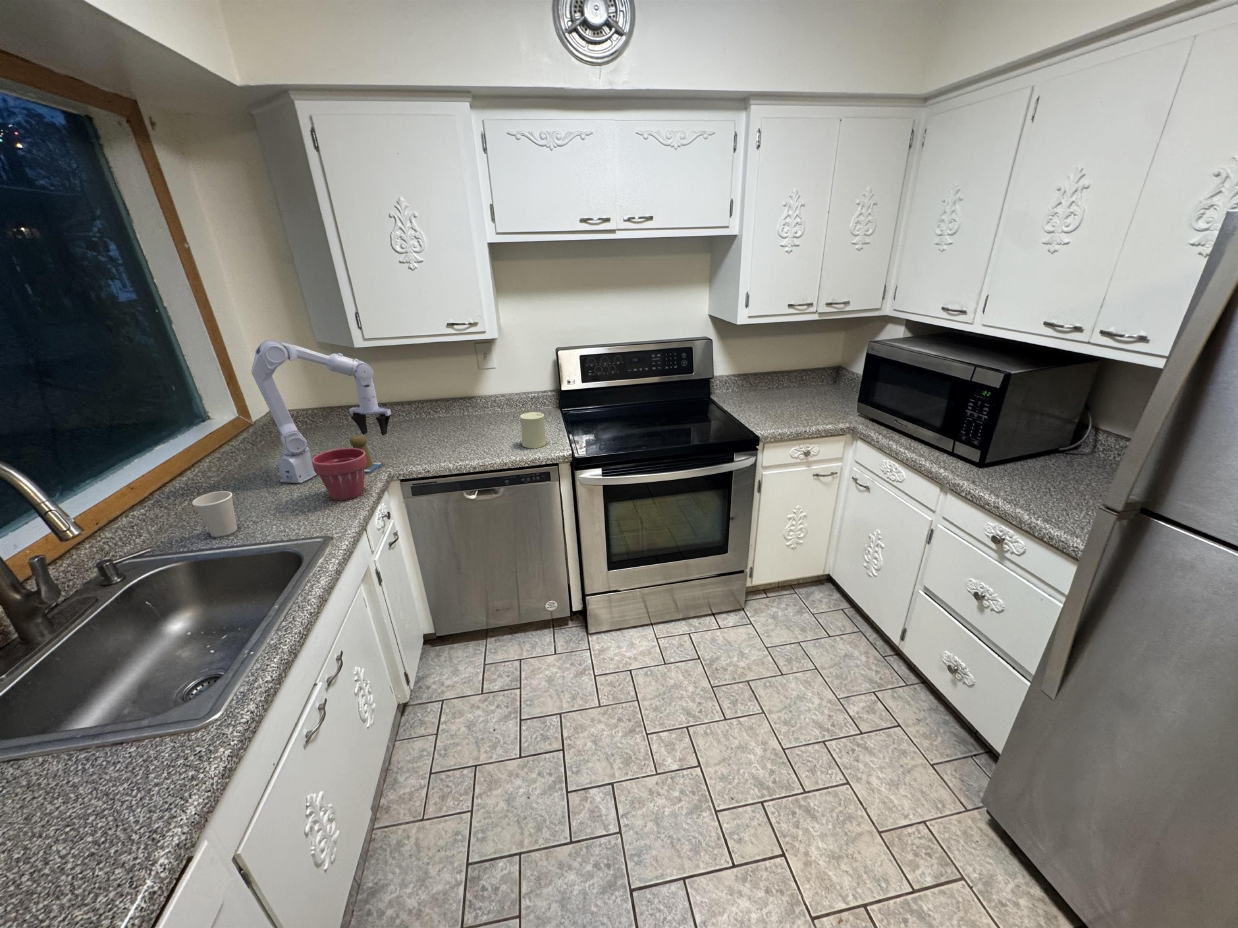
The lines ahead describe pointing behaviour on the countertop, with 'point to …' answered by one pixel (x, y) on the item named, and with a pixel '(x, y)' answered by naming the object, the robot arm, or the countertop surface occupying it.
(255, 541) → the countertop surface
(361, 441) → the cork
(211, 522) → the dixie cup
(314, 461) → the flower pot
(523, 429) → the can
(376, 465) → the towel
